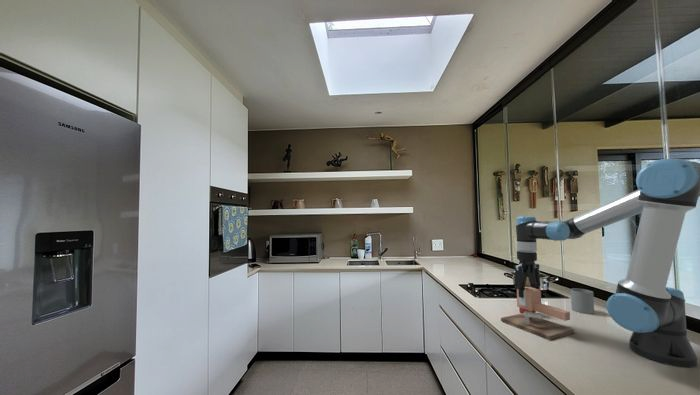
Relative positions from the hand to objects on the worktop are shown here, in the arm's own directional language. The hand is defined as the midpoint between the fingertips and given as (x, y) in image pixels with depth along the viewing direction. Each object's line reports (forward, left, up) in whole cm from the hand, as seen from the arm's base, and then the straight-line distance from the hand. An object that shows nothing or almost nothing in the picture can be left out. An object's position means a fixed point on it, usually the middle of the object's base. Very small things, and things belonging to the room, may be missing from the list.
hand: (528, 303), depth 120 cm
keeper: (-6, +6, -8) cm, 12 cm away
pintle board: (-4, +2, -8) cm, 9 cm away
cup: (-1, -39, -8) cm, 40 cm away
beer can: (+8, -11, -8) cm, 16 cm away
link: (-6, 0, -2) cm, 6 cm away
